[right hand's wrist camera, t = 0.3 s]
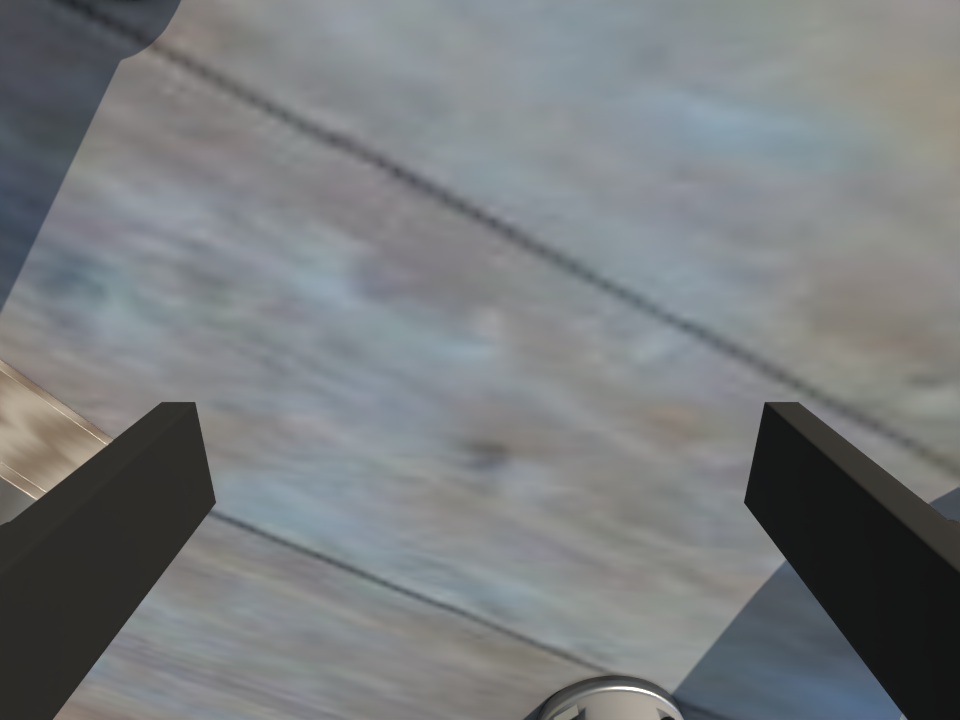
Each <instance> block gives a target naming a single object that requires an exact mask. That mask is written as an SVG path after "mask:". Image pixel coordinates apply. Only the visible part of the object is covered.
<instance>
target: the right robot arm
mask: <svg viewBox="0 0 960 720" xmlns="http://www.w3.org/2000/svg"><path fill="white" fill-rule="evenodd" d="M215 503H216V500H215V496H214V491H213V486H212V481H211V476H210V471H209V467H208V462H207V457H206V452H205V447H204V442H203V438H202V433H201V428H200V423H199V418H198V414H197V409H196V404H195V402H161V403H160V404H159V405H158V406H156V407H155V408H154V409H153V410H151V411H150V412H149V413H148V414H146V415H145V416H144V417H142V418H141V419H140V420H139V421H137V422H136V423H135V424H134V425H132V426H131V427H130V428H128V429H127V430H126V431H125V432H123V433H122V434H121V435H120V436H118V437H117V438H116V439H114V440H113V441H112V442H111V443H109V444H108V445H107V446H106V447H104V448H103V449H102V450H100V451H99V452H98V453H97V454H95V455H94V456H93V457H92V458H90V459H89V460H88V461H86V462H85V463H84V464H83V465H81V466H80V467H79V468H78V469H76V470H75V471H74V472H72V473H71V474H70V475H69V476H67V477H66V478H65V479H64V480H62V481H61V482H60V483H58V484H57V485H56V486H55V487H53V488H52V489H51V490H50V491H48V492H47V493H46V494H45V495H43V496H42V497H41V498H39V499H38V500H37V501H36V502H34V503H33V504H32V505H31V506H29V507H28V508H27V509H25V510H24V511H23V512H22V513H20V514H19V515H18V516H17V517H15V518H14V519H13V520H11V521H10V522H6V523H4V524H2V525H0V720H53V718H54V717H55V716H56V714H57V713H58V712H59V710H60V709H61V708H62V706H63V705H64V704H65V703H66V701H67V700H68V699H69V697H70V696H71V695H72V693H73V692H74V691H75V689H76V688H77V687H78V685H79V684H80V683H81V681H82V680H83V679H84V677H85V676H86V675H87V673H88V672H89V671H90V669H91V668H92V667H93V665H94V664H95V663H96V661H97V660H98V659H99V657H100V656H101V655H102V653H103V652H104V651H105V649H106V648H107V647H108V645H109V644H110V643H111V641H112V640H113V639H114V637H115V636H116V635H117V633H118V632H119V631H120V629H121V628H122V627H123V625H124V624H125V623H126V621H127V620H128V619H129V618H130V616H131V615H132V614H133V612H134V611H135V610H136V608H137V607H138V606H139V604H140V603H141V602H142V600H143V599H144V598H145V596H146V595H147V594H148V592H149V591H150V590H151V588H152V587H153V586H154V584H155V583H156V582H157V580H158V579H159V578H160V576H161V575H162V574H163V572H164V571H165V570H166V568H167V567H168V566H169V564H170V563H171V562H172V560H173V559H174V558H175V556H176V555H177V554H178V552H179V551H180V550H181V548H182V547H183V546H184V544H185V543H186V542H187V540H188V539H189V538H190V537H191V535H192V534H193V533H194V531H195V530H196V529H197V527H198V526H199V525H200V523H201V522H202V521H203V519H204V518H205V517H206V515H207V514H208V513H209V511H210V510H211V509H212V507H213V506H214V505H215ZM744 503H745V505H746V506H747V507H748V509H749V510H750V511H751V513H752V514H753V515H754V517H755V518H756V519H757V521H758V522H759V523H760V525H761V526H762V527H763V529H764V530H765V531H766V533H767V534H768V535H769V537H770V538H771V539H772V540H773V542H774V543H775V544H776V546H777V547H778V548H779V550H780V551H781V552H782V554H783V555H784V556H785V558H786V559H787V560H788V562H789V563H790V564H791V566H792V567H793V568H794V570H795V571H796V572H797V574H798V575H799V576H800V578H801V579H802V580H803V582H804V583H805V584H806V586H807V587H808V588H809V590H810V591H811V592H812V594H813V595H814V596H815V598H816V599H817V600H818V602H819V603H820V604H821V606H822V607H823V608H824V610H825V611H826V612H827V614H828V615H829V616H830V618H831V619H832V620H833V621H834V623H835V624H836V625H837V627H838V628H839V629H840V631H841V632H842V633H843V635H844V636H845V637H846V639H847V640H848V641H849V643H850V644H851V645H852V647H853V648H854V649H855V651H856V652H857V653H858V655H859V656H860V657H861V659H862V660H863V661H864V663H865V664H866V665H867V667H868V668H869V669H870V671H871V672H872V673H873V675H874V676H875V677H876V679H877V680H878V681H879V683H880V684H881V685H882V687H883V688H884V689H885V691H886V692H887V693H888V695H889V696H890V697H891V699H892V700H893V701H894V703H895V704H896V705H897V706H898V708H899V709H900V710H901V712H902V713H903V714H904V716H905V717H906V718H907V720H960V523H959V522H957V521H955V520H947V519H946V518H945V517H943V516H942V515H941V514H940V513H938V512H937V511H936V510H935V509H933V508H932V507H931V506H929V505H928V504H927V503H926V502H924V501H923V500H922V499H921V498H919V497H918V496H917V495H915V494H914V493H913V492H912V491H910V490H909V489H908V488H907V487H905V486H904V485H903V484H902V483H900V482H899V481H898V480H896V479H895V478H894V477H893V476H891V475H890V474H889V473H888V472H886V471H885V470H884V469H882V468H881V467H880V466H879V465H877V464H876V463H875V462H874V461H872V460H871V459H870V458H868V457H867V456H866V455H865V454H863V453H862V452H861V451H860V450H858V449H857V448H856V447H854V446H853V445H852V444H851V443H849V442H848V441H847V440H846V439H844V438H843V437H842V436H840V435H839V434H838V433H837V432H835V431H834V430H833V429H832V428H830V427H829V426H828V425H826V424H825V423H824V422H823V421H821V420H820V419H819V418H818V417H816V416H815V415H814V414H812V413H811V412H810V411H809V410H807V409H806V408H805V407H804V406H802V405H801V404H800V403H799V402H765V404H764V409H763V414H762V418H761V423H760V428H759V433H758V438H757V442H756V447H755V452H754V457H753V462H752V467H751V471H750V476H749V481H748V486H747V491H746V496H745V500H744ZM537 720H684V718H683V715H682V713H681V710H680V708H679V706H678V704H677V702H676V701H675V700H674V698H673V697H672V696H671V695H670V694H669V693H668V692H666V691H665V690H664V689H662V688H660V687H659V686H657V685H655V684H653V683H651V682H648V681H645V680H642V679H638V678H633V677H626V676H603V677H596V678H591V679H587V680H584V681H581V682H578V683H575V684H573V685H571V686H569V687H567V688H565V689H563V690H561V691H560V692H558V693H557V694H556V695H554V696H553V697H552V698H551V699H550V700H549V701H548V702H547V703H546V704H545V705H544V707H543V708H542V709H541V711H540V713H539V715H538V717H537Z"/></svg>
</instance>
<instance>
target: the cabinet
mask: <svg viewBox="0 0 960 720" xmlns="http://www.w3.org/2000/svg"><path fill="white" fill-rule="evenodd" d="M112 441H113V439H112V438H110V437H109V436H107V435H106V434H105V433H103V432H102V431H100V430H99V429H97V428H96V427H95V426H93V425H92V424H90V423H89V422H88V421H86V420H85V419H83V418H82V417H80V416H79V415H78V414H76V413H75V412H73V411H72V410H71V409H69V408H68V407H66V406H65V405H64V404H62V403H61V402H59V401H58V400H56V399H55V398H54V397H52V396H51V395H49V394H48V393H47V392H45V391H44V390H42V389H41V388H40V387H38V386H37V385H35V384H34V383H32V382H31V381H30V380H28V379H27V378H25V377H24V376H23V375H21V374H20V373H18V372H17V371H15V370H14V369H13V368H11V367H10V366H8V365H7V364H6V363H4V362H3V361H1V360H0V525H2V524H4V523H6V522H10V521H11V520H13V519H14V518H15V517H17V516H18V515H19V514H20V513H22V512H23V511H24V510H25V509H27V508H28V507H29V506H31V505H32V504H33V503H34V502H36V501H37V500H38V499H39V498H41V497H42V496H43V495H45V494H46V493H47V492H48V491H50V490H51V489H52V488H53V487H55V486H56V485H57V484H58V483H60V482H61V481H62V480H64V479H65V478H66V477H67V476H69V475H70V474H71V473H72V472H74V471H75V470H76V469H78V468H79V467H80V466H81V465H83V464H84V463H85V462H86V461H88V460H89V459H90V458H92V457H93V456H94V455H95V454H97V453H98V452H99V451H100V450H102V449H103V448H104V447H106V446H107V445H108V444H109V443H111V442H112Z"/></svg>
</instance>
